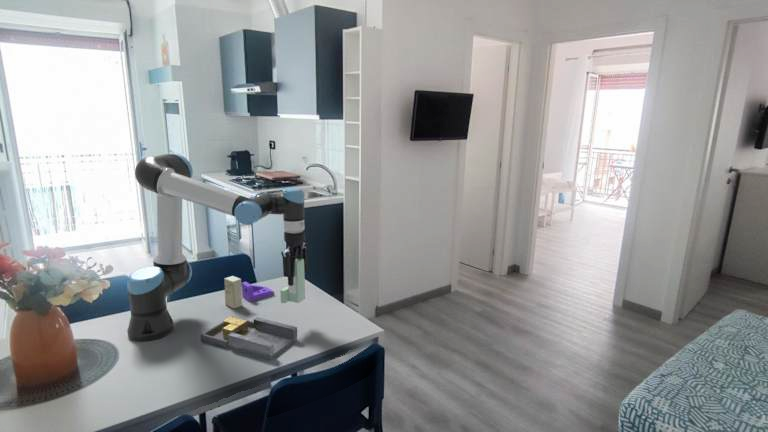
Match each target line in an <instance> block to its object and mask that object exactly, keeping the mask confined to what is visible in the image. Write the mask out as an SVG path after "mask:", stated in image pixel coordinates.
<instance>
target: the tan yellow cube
mask: <svg viewBox="0 0 768 432" xmlns="http://www.w3.org/2000/svg"><path fill="white" fill-rule="evenodd" d="M243 319H244V318H242V319H238V320H236V321H234V322H232V323H231V324H234V325H238V326H239V329H240V335H242V334H244V333H245V332H247V331H248V321H246V320H247V319H245V320H243Z"/></svg>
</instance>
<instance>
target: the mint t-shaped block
mask: <svg viewBox="0 0 768 432" xmlns="http://www.w3.org/2000/svg"><path fill="white" fill-rule="evenodd" d="M304 265H305V264H304V259H298V258H297V259H296V261H295V271H294V276H295V277H296V293H295V294H294V293H289V285H288V284H287V286H285V287H283V288H282V289H280V303H281V304H286V303H288V302H292V303H296V304H300V303H301V302H303V301H304V300H306V281H305V277H306V275H305V274H306V273H305V272H304Z"/></svg>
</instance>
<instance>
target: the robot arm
mask: <svg viewBox="0 0 768 432" xmlns="http://www.w3.org/2000/svg"><path fill="white" fill-rule="evenodd" d="M193 171H194V170H193V166H192V163H191V162H190V161H189V160H188V159H187V157H185V156H183V155H182V154H179V153H165V154H159V155H150V156H147V157H144V158H142V159H141V160H140V161H138V163H137V164H136V167H135V170H134V176H135V179H136V181H137V182H138V184H139V185H140V186H141V187H142V188H144V189H146V190H148V191H150V192H152V193H155V194H156V216H157V217H156V218H157V219H156V230H157V231H156V232H157V235H156V236H157V255H156V256H155V257H153V258H152V259H153V260H152V261H153V264H152V265H153V266H146V267H143V268H139V269H137V270H134V271H133V272H131V273H130V274H129V275H128V277H127V281H126V282H127V286H126V289H127V293H128V301H129V310H130V319H129V322H128V323H129V324H128V327H127V337H128V339H130V340H131V341H135V342H149V341H155V340H158V339H161V338H163V337H166V336H168V335H169V334H171V333H172V332H173V331H174V328H175V325H174V320H173V318H172V315H170V312H169V310H168V308H167V306H168V305H167V299H166V298H167V297H168V296H171V295H172V294H173V293H174V292H176V291H178V290H180V289H182V288H183V287H185V286H186V284H187V283H189V281H190V280H191V279H192V276H193V269H192V265H191V264H190V263H189V261H188V260H187V256H186V255H184V254H183V200H184V201H187V202H191V203H194V204H197V205H199V206H203V207H205V208H208V209H211V210H214V211H217V212H220V213H223V214H226V215H229V216H231V217H235V219H236V221H238V222H239V223H240V224H241V225H246V226H247V225H252V224H255V223H257V222H258V221H260V220H262V219H263V218H265V217H267V216H268V215H269V216H270V215H282V216H283V217H282V218H283V231H284V232H283V240H284V242H285V243H286V247H285V250H282V251H281V256H282V271H283V277H285V278H287V286H288V285H289V293H294V294H295V293H296V277H295V276H294V271H295V261H296V259H297V258H298V259H304V273H306V272H307V269H308V248H309V247H308V245H309V243H307V242H305V241H306V232H305V231H306V229H305V228H306V227H305V199H304V198H305V197H304V196H305V195H304V191H303V190H302V189H301V188H299V187H287V188H284V189H282V193H267V192H266V193H265V192H257V193H256V192H254V193H251V195H250V197H247V196H243V195H242V194H240V193H239V194H238V193H235V192H232V191H229V190H226V189H224V188H221V187H219V186H215V185H211V184H209V183H205V182H203V181H200V180H197V179H195V178H192V177H193V173H194V172H193Z"/></svg>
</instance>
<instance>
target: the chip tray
mask: <svg viewBox="0 0 768 432" xmlns="http://www.w3.org/2000/svg"><path fill="white" fill-rule="evenodd" d="M231 317H235V318H239V319H243V320H246V321H248V331H250V330H252V329H253V328H254V320H249V319H245V318H240V317H237V316H233V315H232V316H231ZM223 328H224V327H223V321H222V322H220V323H218V324H217V325H214V326H213V327H211V328H209V329H208V330H206V331H204V332H202V333H200V341H201V342H205V343H208V344H211V345H214V346H219V347H221V348H225V349H229V344H228V340H227V339H224V338H223ZM248 331H247V332H248ZM247 332H245V333H247ZM245 333H244V334H245ZM244 334H242V335H244Z"/></svg>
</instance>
